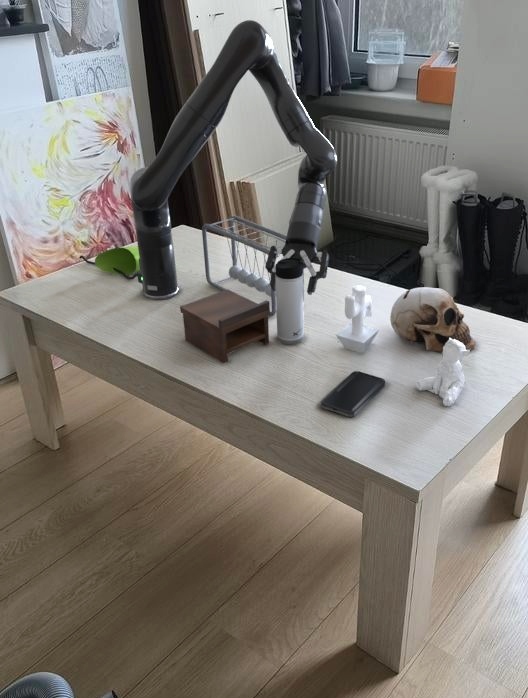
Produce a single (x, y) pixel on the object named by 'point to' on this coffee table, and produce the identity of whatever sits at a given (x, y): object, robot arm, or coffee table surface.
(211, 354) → the brown wooden stand
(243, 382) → the coffee table surface
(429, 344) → the coin bank
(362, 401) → the phone
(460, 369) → the white creature statuette
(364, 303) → the figurine
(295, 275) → the travel mug
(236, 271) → the newton's cradle
